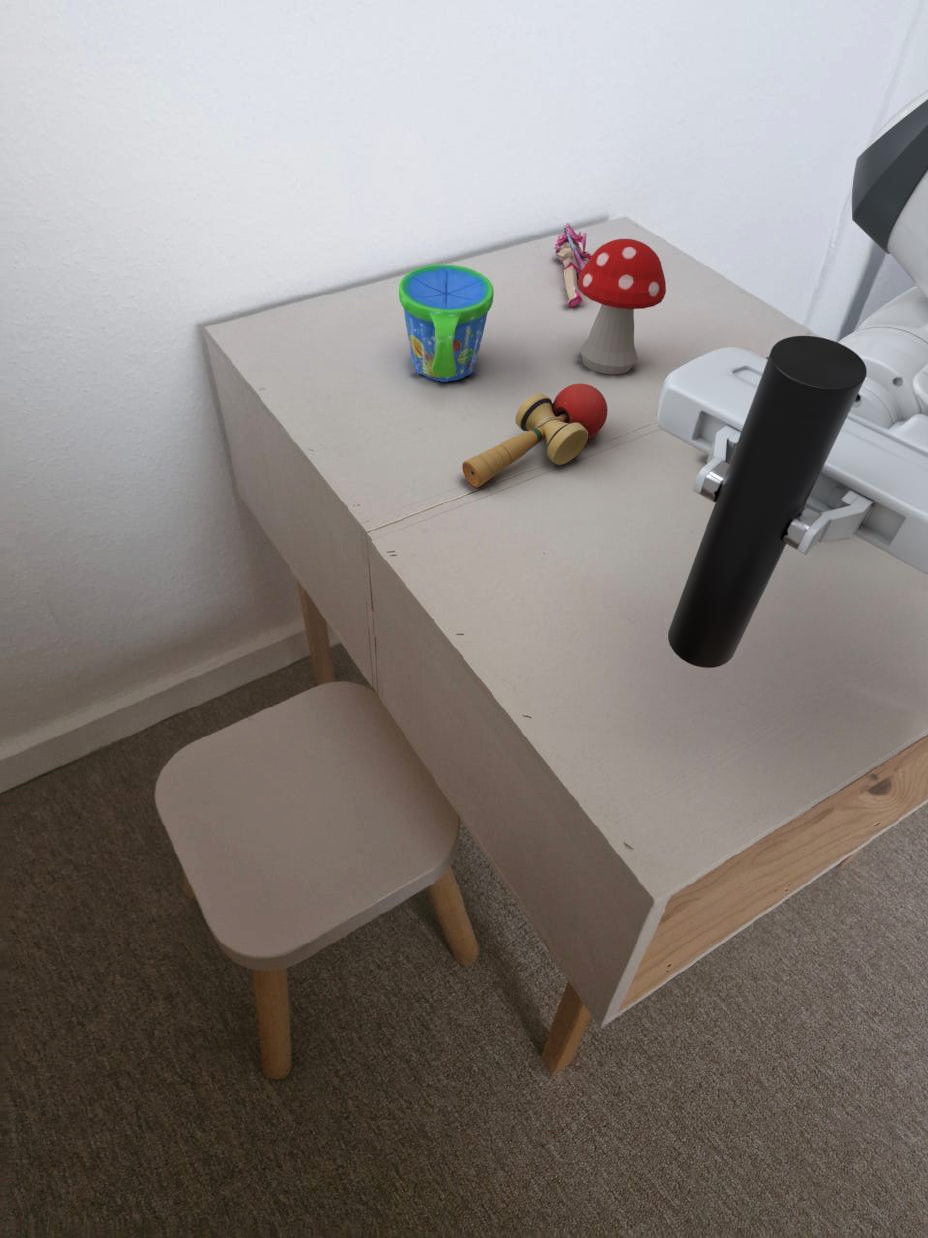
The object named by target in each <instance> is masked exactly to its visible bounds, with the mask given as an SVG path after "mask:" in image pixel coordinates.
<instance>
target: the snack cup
mask: <svg viewBox="0 0 928 1238" xmlns="http://www.w3.org/2000/svg"><path fill="white" fill-rule="evenodd" d="M494 293H495V292H494V286H493V284H492V282H491V280H489V278H487V277H486V275H484V274H482V273H481V272H479V271H476V270H474V269H472V268H469V267H466V266H461V265H455V264H430V265H429V264H428V265H425V266H420V267H417V268H415V269H413V270H410V271H409V272H407V273H406V274H405V275H404V276H403V277H402V278H401V280H400V282H399V285H398V299H399V303H400V305H401V307H402V309H403V312H404V321H405V327H406V334H407V340H408V346H409V353H410V355H411V360H412V361H411V362H412V364H413V367H414V369H415V371H416V373H417V375H422V376H424V377H426V378H428V379H430V380H433V381H439V382H440V383H448V382H454V381H458V380H461V379H464V378H465V377H467V376H470V375H471V374H472V373H473V371H474V369H475V366H476V364H477V361H478V356H479V353H480V348H481V342H482V340H483V336H484V331H485V326H486V324H487V323H486V322H487V317H488V314H489V311H490V309H491V308H492V305H493V302H494Z"/></svg>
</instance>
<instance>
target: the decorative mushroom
mask: <svg viewBox="0 0 928 1238" xmlns="http://www.w3.org/2000/svg"><path fill="white" fill-rule="evenodd" d="M591 255H592V256H591V258H590V259H589V260H587V261H586V262H587V263H586V265H585V266H584V268H583V269H582V271H581V274H580V276H579V281H578V280H577V287H578V291H580V292H581V294H582V295H583V296H584V297H586V298H588V299H589V300H591V301H592V302H595V303H598V304H600V308H599V310H598V312H597V315H596V317H595V319H594V322H593V324H592V326H591V329H590V332H589V335H588V337H587V339H586V340H585V341H584V343H583V344H582V345H581V347H580V350H579V351H580V356H581V362H582V364H583V365H584V366H585V367H586V368H587V369H589V370H591V371H593V372H596V373H600V374H604V375H612V376H613V375H622V374H626V373H628V372H629V371H631V369H632V368H633V366H634V364H635V363H636V361H637V360H638V354H637V350H636V347H635V318H634V317H635V315H634V314H635V310H643V309H648V308H652V307H655V306H658V304H661V303H662V301H663V300H664V298H665V296H666V293H667V283H666V277H665V273H664V270H663V266H662V262H661V260H660V257H659V255H658V253H657V252H655V251H654V250H653V248H651V247H650V246H649V245H648V244H646V243H644V242H642V241H639V240H637V239H632V238H618V239H614V240H610V241H607V242H606V243H603V244H602V245H601V246H599V247H598V248H597V249H596V250H595V251H594V252H593V253H592V254H591Z"/></svg>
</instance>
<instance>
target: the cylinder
mask: <svg viewBox="0 0 928 1238" xmlns="http://www.w3.org/2000/svg"><path fill="white" fill-rule="evenodd" d="M767 357H768V360H767V363H766V366H765V368H764V371H763V374H762V377H761V379H760V382H759V385H758V388H757V390H756V393H755V396H754V399H753V401H752V404H751V407H750V409H749V412H748V415H747V418H746V420H745V423H744V426H743V429H742V431H741V434H740V437H739V440H738V442H737V445H736V448H735V450H734V453H733V456H732V459H731V461H730V464H729V467H728V470H727V472H726V475H725V478H724V481H723V483H722V486H721V489H720V492H719V494H718V497H717V500H716V502H714V504H713V505H714V506H713V508H712V511H711V514H710V517H709V519H708V521H707V525H706V527H705V530H704V533H703V536H702V538H701V542H700V544H699V546H698V549H697V552H696V554H695V558H694V560H693V563H692V565H691V569H690V570H689V574H688V576H687V579H686V582H685V585H684V588H683V590H682V593H681V596H680V599H679V601H678V603H677V607H676V609H675V612H674V615H673V617H672V621H671V623H670V626H669V628H668V630H667V631H668V632H667V639H668V643H669V644H668V645H669V646H670V648H671V649H672V651H673V652H674V654H675V655H676V656H677V657H679V659H681V660H682V661H684V662H686V663H687V664H689V665H690V666H691V665H692V666H694V667H697V668H703V669H712V668H713V669H714V668H718V667H721V666H724V665H726V664H728V663H729V662H730V661H731V660H732V658H733V657H734V655H735V653H736V651H737V649H738V647H739V645H740V643H741V640H742V638H743V636H744V634H745V633H746V630H747V628H748V626H749V624H750V622H751V620H752V617H753V616H754V614H755V611H756V609H757V607H758V605H759V603H760V600H761V598H762V596H763V594H764V592H765V590H766V588H767V586H768V584H769V581H770V579H772V575H773V573H774V571H775V569H776V567H777V565H778V562H779V560H780V559H781V558H782V557H781V556H782V554H783V553H784V550H785V548H786V546H787V544H786V543H784V542H782V540H783V538H784V536H785V535H786V534H787V533H788V532H787V529H788V527H789V525H790V524H791V522H792V521H793V520H794V518H796V517H797V516H800V514H801V512H802V510H803V508H804V506H805V504H806V502H807V500H808V498H809V496H810V494H811V491H812V489H813V487H814V485H815V483H816V481H817V479H818V477H819V475H820V473H821V470H822V468H823V466H824V464H825V462H826V460H827V458H828V456H829V454H830V452H831V449H832V447H833V445H834V443H835V441H836V439H837V437H838V435H839V433H840V431H841V428H842V426H843V424H844V422H845V420H846V418H847V416H848V414H849V412H850V410H851V407H852V405H853V403H854V401H855V399H856V397H857V395H858V393H859V391H860V389H861V386H862V384H863V382H864V380H865V378H866V375H867V369H866V365H865V363H864V362H863V360H862V359H861V358H860V357H859V356H858V355H857V354H856V353H855V352H854V351H852V350H851V349H849V348H848V347H846V346H844V345H842V344H840V343H838V341H835V340H832V339H828V338H825V337H820V336H814V335H793V336H788V337H785V338H783V339H780V340H778V341H777V342H776V343H775V344H774V345H773V346H772V348H771V350H770V352H769V355H768V356H767Z"/></svg>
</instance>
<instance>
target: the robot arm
mask: <svg viewBox="0 0 928 1238" xmlns="http://www.w3.org/2000/svg"><path fill="white" fill-rule="evenodd" d="M851 189H852V190H851V191H852V192H851V220H852V221H853V223H855V224H856V226H858V227H859V228H860V229H861V230H862V231H863V233H865V234H866V235H867V236H868V237H869V238H870V239H871V240H872V241H873V242H874V243H875V244H876V245H877V246H878V247H879V248H880V249H881V250H882V251H884V253H885V254H887V255H891V256H892V258H893V259H894V260H895V261H896V263H897V264H898V266H900V267H901V269H902V270H903V271H904V272H905V273H906V275H907V276H908V277H909V278H910V279H911V280H912V282H913V283H914V284H915V286H913V287H911V288H909V289H907V290H906V291H904V292H902V293H900V294H898V295H897V296H896V297H894V298H892V299H891V300H889V301H888V302H886V303H885V304H884V305H882V306H881V307H880V308H878V309H877V310H876V311H874V312H873V313H872V314H870V315H869V316H868V317H867V318H866V319H865V320H864V321H862V323H861V324H860V325H859V326H858V328H856V330H855V331H853V332H851V333H849V334H847V335H846V336H844V337H843V338H841V339H840V340H838V341H837V343H840V344H842V345H844V346H846V347H848V348H849V349H851V350H852V351H854V352H855V353H856V354H857V355H858V356H859V357H860V358H861V359H862V360H863V362H864V363H865V365H866V369H867V375H866V378H865V380H864V382H863V384H862V386H861V389H860V391H859V393H858V395H857V397H856V399H855V401H854V403H853V405H852V407H851V410H850V412H849V414H848V416H847V418H846V420H845V422H844V424H843V426H842V428H841V431H840V433H839V435H838V437H837V439H836V441H835V443H834V445H833V447H832V449H831V452H830V454H829V456H828V458H827V460H826V462H825V464H824V466H823V468H822V470H821V473H820V475H819V477H818V479H817V481H816V483H815V485H814V487H813V489H812V491H811V494H810V496H809V498H808V500H807V502H806V504H805V506H804V509H803V510H802V512H801V514H800V516H797V517H796V518H794V520H793V521H792V522H791V524H790V525H789V527H788V529H787V532H788V533H787V534H786V535H785V536H784V538H783V540H782V542H784V543H786V545H787V546H790V547H791V548H793V549H794V550H796V551H798V552H799V553H801V554H802V555H805V556H806V555H807V554H808V553H809V552H810V551H811V550H812V549H813V548H814V547H815V546H816V545H817V544H818V543H820V544H822V543H831V542H836V541H843V540H849V539H850V538H851V537H852V536H853V535H854V536H856V537H857V538H858V539H861V540H863V541H864V542H866V543H868V544H870V545H871V546H873V547H875V548H877V549H879V550H881V551H883V552H884V553H886V554H888V555H890V556H891V557H894V558H896V559H898V560H899V561H901V562H903V563H905V564H907V565H908V566H910V567H911V568H914V569H915V570H917V571H919V572H920V573H923V574H925V575H928V89H926V90H925V91H923V92H922V93H920V94H919V95H917V96H916V97H914V98H913V99H911V100H910V101H909V102H908V103H906V104H905V105H904V106H903V107H901V108H900V109H899V110H897V112H895V113H894V114H893V115H892V116H891V117H890V118H889V119H887V121H885V122H884V124H883V125H882V126H881V127H880V128H879V129H878V130H877V131H876V132H875V133H874V135H873V136H872V138H871V139H870V140H869V141H868V143H867V144H866V146H865V148H864V149H863V150H862V153H861V154H860V155H859V156H858V157H857V158H856V162H855V166H854V172H853V178H852V188H851ZM767 360H768V359H766V357H764V356H762V355H761V354H757V353H756V352H753V351H752V350H751V351H750V350H748V349H745V348H741V347H737V346H735V347H734V346H728V347H727V346H726V347H720V348H717V349H715V350H711V351H709V352H707V353H705V354H702V355H699V357H696V358H693V359H692V360H690V361H688V362H686V363H685V364H683V365H680V366H679V367H677V368H676V369H674V370H673V371H671V372H670V373H669V374H668V375H667V376H666V377H665V379H664V381H663V384H662V386H661V389H660V392H659V395H658V400H657V404H656V410H655V411H656V412H655V414H656V424H657V426H658V428H660V430H661V431H664V432H665V433H667V434H669V435H671V436H673V437H675V438H676V439H679V440H681V441H682V442H683V443H686V444H687V445H689V446H692V447H693V448H695V449H697V450H699V451H700V452H702V453H704V454H706V455H707V457H708V459H707V458H706V464H705V465H704V466H703V467H702V468H700V470H699V472H698V473H697V476H696V479H695V482H694V485H693V488H692V490H693V492H695V493H697V494H698V495H700V496H701V497H703V498H705V499H707V500H709V501H711V502H713V503H715V502H716V500H717V497H718V494H719V492H720V489H721V486H722V483H723V481H724V478H725V475H726V472H727V470H728V467H729V464H730V461H731V459H732V456H733V453H734V450H735V448H736V445H737V442H738V440H739V437H740V434H741V431H742V429H743V426H744V423H745V420H746V418H747V415H748V412H749V409H750V407H751V404H752V401H753V399H754V396H755V393H756V390H757V388H758V385H759V382H760V379H761V377H762V374H763V371H764V368H765V366H766V363H767ZM708 455H709V456H708Z"/></svg>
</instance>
